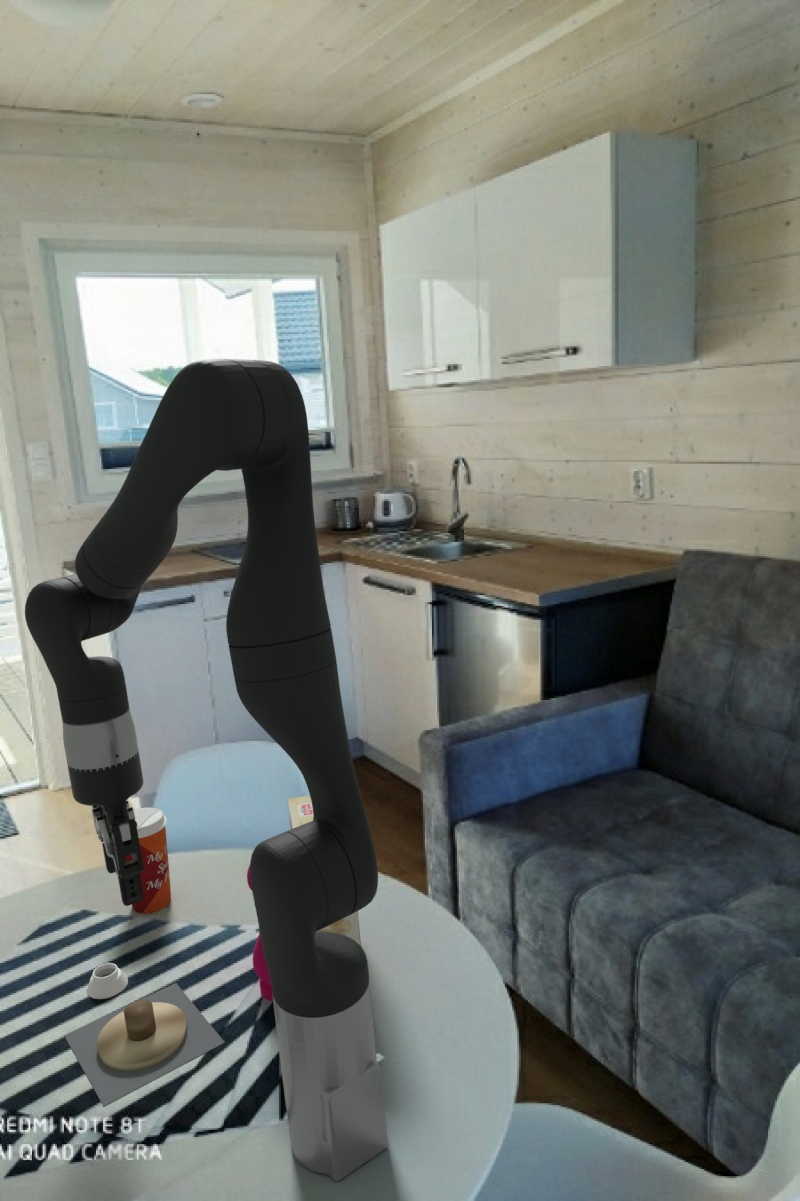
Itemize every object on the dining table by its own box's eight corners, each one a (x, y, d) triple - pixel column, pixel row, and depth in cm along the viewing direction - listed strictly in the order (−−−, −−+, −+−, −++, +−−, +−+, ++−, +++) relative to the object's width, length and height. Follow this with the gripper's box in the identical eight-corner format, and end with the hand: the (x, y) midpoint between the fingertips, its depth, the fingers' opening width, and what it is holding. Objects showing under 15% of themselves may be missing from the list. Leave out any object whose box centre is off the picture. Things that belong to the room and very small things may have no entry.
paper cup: (170, 917, 128) (157, 828, 124) (118, 920, 128) (103, 832, 125) (184, 887, 135) (172, 803, 132) (134, 890, 136) (121, 806, 132)
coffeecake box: (366, 984, 110) (353, 842, 105) (309, 994, 109) (293, 851, 104) (350, 917, 124) (338, 789, 120) (299, 925, 123) (286, 797, 119)
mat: (225, 1046, 101) (224, 1042, 101) (104, 1110, 93) (103, 1106, 93) (176, 986, 112) (176, 982, 112) (64, 1039, 104) (64, 1035, 104)
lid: (201, 1040, 101) (196, 1010, 101) (115, 1085, 96) (110, 1054, 95) (167, 997, 109) (162, 969, 108) (86, 1036, 104) (80, 1007, 103)
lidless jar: (80, 1002, 111) (115, 1005, 110) (76, 981, 110) (112, 984, 109) (101, 976, 116) (135, 979, 115) (98, 956, 115) (132, 959, 114)
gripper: (152, 764, 93) (174, 902, 96) (123, 726, 105) (143, 850, 108) (78, 783, 89) (103, 926, 93) (56, 742, 101) (79, 870, 105)
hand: (124, 885), depth 101 cm, fingers open, 8 cm apart
